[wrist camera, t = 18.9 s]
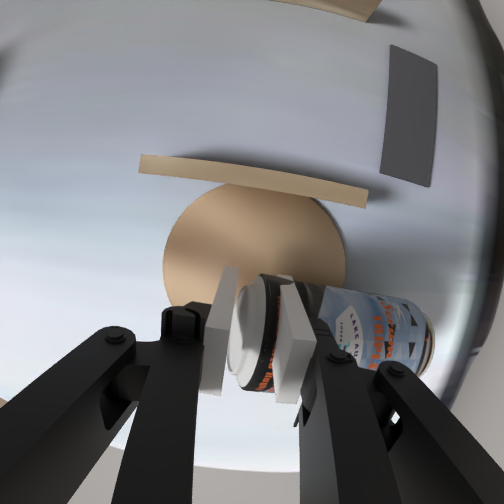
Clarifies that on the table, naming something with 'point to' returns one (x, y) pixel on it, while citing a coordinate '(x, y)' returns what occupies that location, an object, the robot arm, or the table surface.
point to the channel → (344, 3)
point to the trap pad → (410, 118)
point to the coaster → (250, 242)
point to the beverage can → (339, 321)
